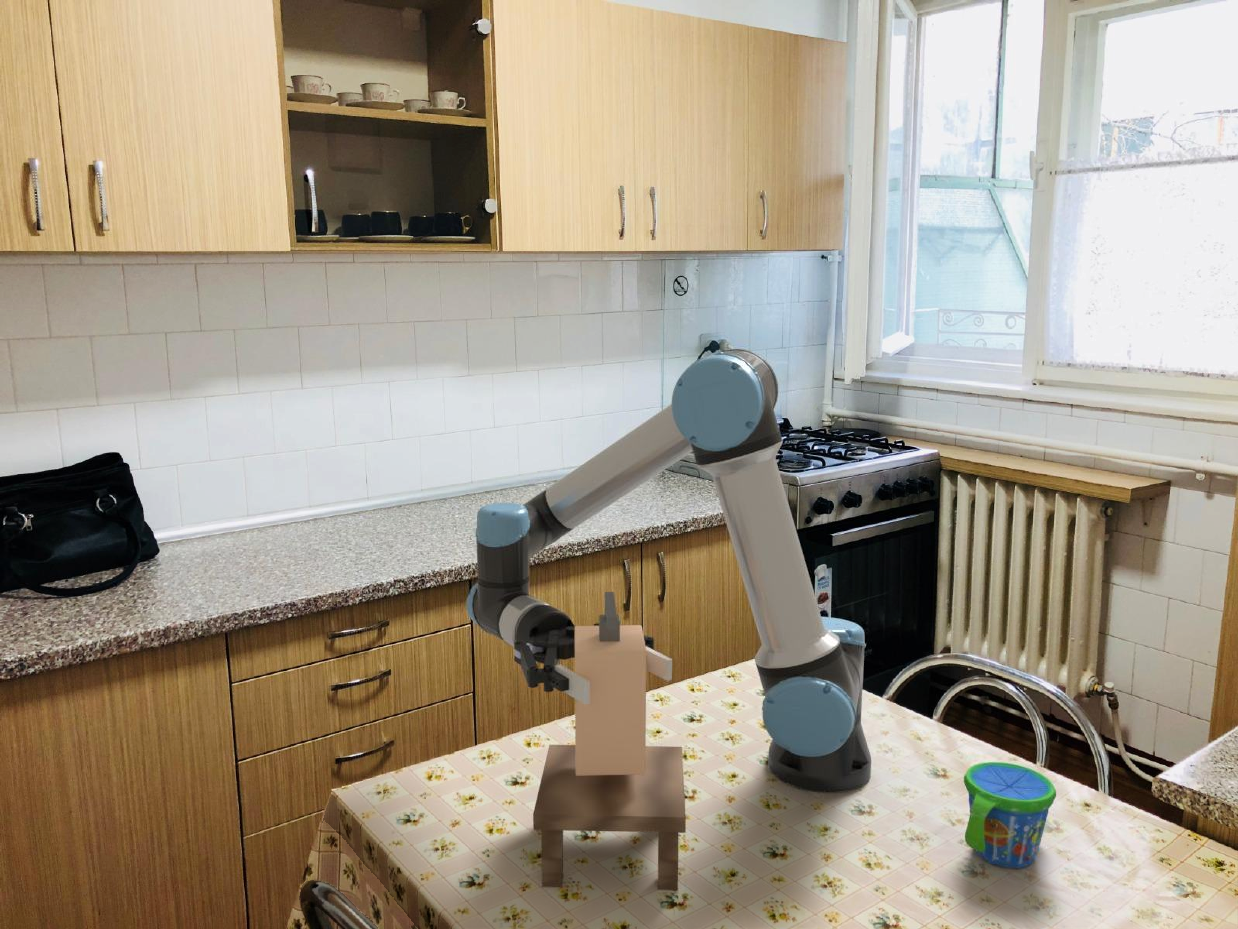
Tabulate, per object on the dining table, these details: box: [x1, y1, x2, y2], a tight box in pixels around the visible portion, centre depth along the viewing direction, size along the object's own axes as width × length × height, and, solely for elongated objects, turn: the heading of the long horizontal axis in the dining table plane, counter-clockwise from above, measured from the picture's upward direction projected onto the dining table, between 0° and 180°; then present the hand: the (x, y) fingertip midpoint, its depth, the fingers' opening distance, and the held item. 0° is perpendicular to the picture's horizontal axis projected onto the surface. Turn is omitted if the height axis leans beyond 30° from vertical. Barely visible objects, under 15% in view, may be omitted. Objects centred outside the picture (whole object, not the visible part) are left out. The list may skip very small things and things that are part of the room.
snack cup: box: [963, 761, 1057, 869], centre depth 126 cm, size 16×10×10 cm
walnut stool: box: [532, 744, 687, 891], centre depth 127 cm, size 18×18×10 cm
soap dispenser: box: [574, 591, 647, 776], centre depth 122 cm, size 13×9×22 cm
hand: (629, 681), depth 120 cm, fingers closed on soap dispenser, 12 cm apart
